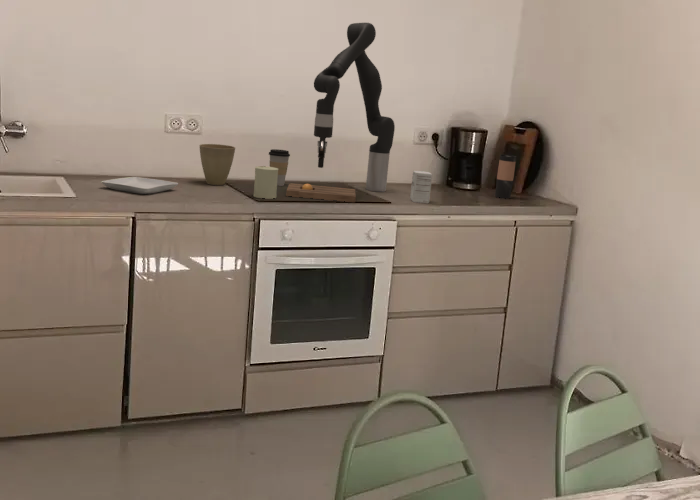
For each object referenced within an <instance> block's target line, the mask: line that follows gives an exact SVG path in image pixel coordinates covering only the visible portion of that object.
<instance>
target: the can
mask: <svg viewBox="0 0 700 500" xmlns="http://www.w3.org/2000/svg"><path fill="white" fill-rule="evenodd" d="M254 169H255V170H254V173H255V174H254V186H253V195H252V196H253V197H254V198H257V199H262V198H265V199H264V200H274V199H273V198H275V199H277V192H278V191H277V190H278V189H277V188H278V186H277V178H278V168H274V167H270V166H266V165H263V166H255V167H254Z"/></svg>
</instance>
